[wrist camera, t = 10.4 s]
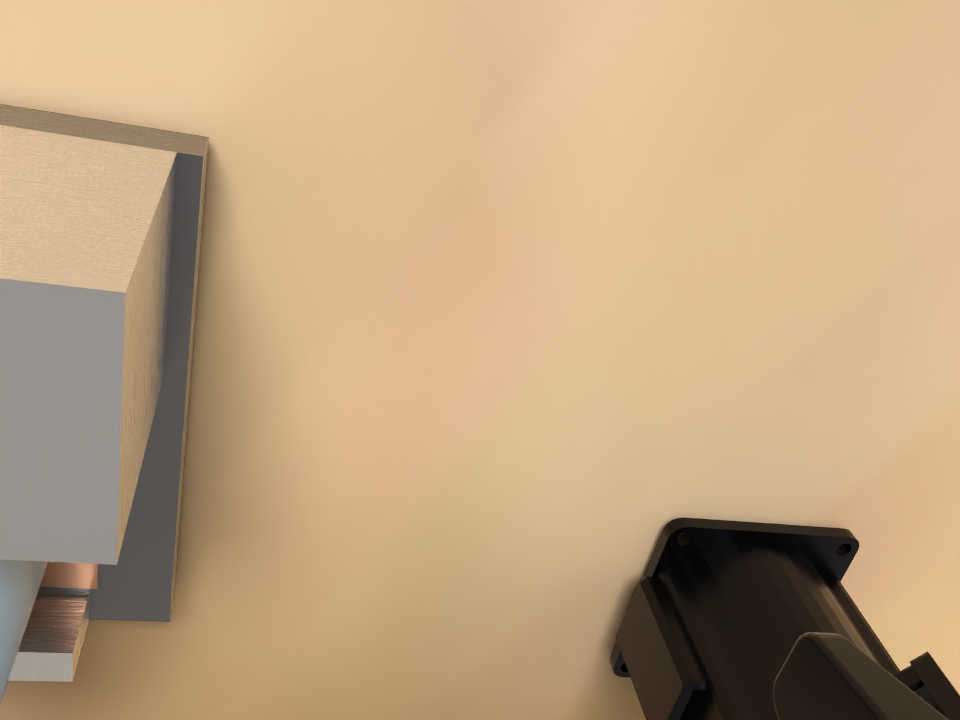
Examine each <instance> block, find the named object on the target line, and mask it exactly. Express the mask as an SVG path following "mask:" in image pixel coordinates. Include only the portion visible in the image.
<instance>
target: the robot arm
mask: <svg viewBox="0 0 960 720" xmlns="http://www.w3.org/2000/svg"><path fill="white" fill-rule="evenodd" d="M683 533H685V534H684V535H682V536H680V537H677V536H679V535H680V534H683ZM858 548H859V542H858V540H857V539H856V538H855V536H854V535H853V534H852V532H850V531H849V530H847V529H841V528H826V527H811V526H797V525H782V524H767V523H753V522H738V521H724V520H709V519H694V518H677V519H675V520H672V521H671V522H669V523H668V524H667V525H666V526H665V528H664V529H663V532H662V534H661V536H660V539H659V541H658V544H657V546H656V548H655V551H654V553H653V556H652V558H651V560H650V563H649V565H648V568H647V570H646V572H645V575H644V577H643V579H642V580H641V581H640V582H639V583H638V586H637V588H636V590H635V593H634V595H633V598H632V600H631V602H630V605H629V607H628V610H627V612H626V615H625V617H624V619H623V622H622V624H621V627H620V629H619V631H618V634H617V642H616V645H615V647H614V649H613V652H612V654H611V657H610V663H611V665H612V668H613V671H614V673H615V674H616V675H617V676H620V677H631V680H632V682H633V685H634V688H635V691H636V693H637V696H638V699H639V701H640V704H641V707H642V710H643V712H644V715H645V718H646V720H960V695H959V694H958V692H957V691H956V690H955V688H954V687H953V685H952V684H951V683H950V681H949V680H948V679H947V677H946V676H945V674H944V673H943V672H942V670H941V669H940V668H939V666H938V665H937V664H936V662H935V661H934V659H933V658H932V657H931V655H930V654H929V653H928V652H926V653H924V654H922V655H921V656H919V657H917V658H915V659H913V660H912V661H910V664H911V666H909V667H907V668H905V669H904V670H902V671H900V670H899V668H898V667H897V665H896V664H895V662H894V661H893V659H892V658H891V657H890V655H889V654H888V652H887V651H886V649H885V648H884V646H883V645H882V643H881V642H880V640H879V639H878V637H877V636H876V634H875V633H874V631H873V630H872V628H871V627H870V625H869V624H868V623H867V621H866V620H865V618H864V617H863V615H862V614H861V612H860V611H859V609H858V608H857V606H856V605H855V603H854V602H853V600H852V599H851V597H850V596H849V594H848V593H847V591H846V590H845V588H844V587H843V586H842V584H841V583H840V581H841V579H842V578H843V576H844V574H845V572H846V571H847V569H848V567H849V565H850V563H851V562H852V560H853V558H854V556H855V554H856V553H857V551H858Z"/></svg>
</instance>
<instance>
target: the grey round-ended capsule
mask: <svg viewBox="0 0 960 720" xmlns="http://www.w3.org/2000/svg"><path fill="white" fill-rule="evenodd" d="M47 564H48V562H45V561H24V560H2V559H0V703H1V700H2V697H3V694H4V691H5V688H6V685H7V682H8V679H9V676H10V673H11V670H12V667H13V664H14V661H15V658H16V655H17V652H18V649H19V646H20V643H21V640H22V637H23V635H24V632H25V629H26V626H27V623H28V620H29V617H30V614H31V611H32V608H33V605H34V602H35V599H36V596H37V593H38V590H39V587H40V584H41V581H42V578H43V575H44V572H45V569H46V566H47Z"/></svg>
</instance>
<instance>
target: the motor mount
mask: <svg viewBox="0 0 960 720" xmlns="http://www.w3.org/2000/svg"><path fill="white" fill-rule="evenodd" d="M208 141H209V137H204V136H198V135H191V134H185V133H179V132H173V131H166V130H160V129H154V128H148V127H141V126H135V125H129V124H122V123H116V122H110V121H104V120H97V119H91V118H85V117H79V116H72V115H66V114H60V113H54V112H47V111H41V110H35V109H29V108H22V107H16V106H10V105H4V104H0V559H2V560H24V561H45V562H48V564H47V566H46V569H45V572H44V575H43V578H42V581H41V584H40V587H39V590H38V593H37V596H36V599H35V602H34V605H33V608H32V611H31V614H30V617H29V620H28V623H27V626H26V629H25V632H24V635H23V637H22V640H21V643H20V646H19V649H18V652H17V655H16V658H15V661H14V664H13V667H12V670H11V673H10V676H9V679H8V681H58V682H73V679H74V675H75V671H76V667H77V664H78V660H79V656H80V652H81V648H82V645H83V641H84V637H85V633H86V630H87V626H88V622H89V619H98V620H129V621H160V622H169V621H170V615H171V609H172V603H173V597H174V591H175V581H176V567H177V554H178V541H179V527H180V514H181V501H182V487H183V474H184V461H185V447H186V434H187V421H188V407H189V394H190V381H191V367H192V354H193V341H194V328H195V314H196V301H197V288H198V274H199V261H200V248H201V234H202V221H203V208H204V194H205V181H206V168H207V154H208Z"/></svg>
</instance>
